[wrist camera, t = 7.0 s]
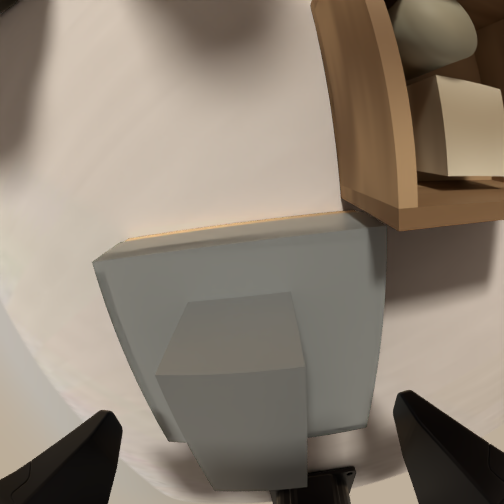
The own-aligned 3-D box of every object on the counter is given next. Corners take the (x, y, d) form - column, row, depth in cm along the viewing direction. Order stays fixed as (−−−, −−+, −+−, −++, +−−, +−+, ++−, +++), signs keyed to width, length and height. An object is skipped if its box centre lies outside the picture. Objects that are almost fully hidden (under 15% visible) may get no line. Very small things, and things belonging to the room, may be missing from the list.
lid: (355, 394, 13) (384, 486, 8) (177, 409, 14) (152, 498, 8) (362, 210, 10) (451, 267, 5) (120, 242, 11) (28, 311, 5)
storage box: (491, 188, 10) (568, 212, 5) (341, 198, 11) (398, 231, 6) (467, 30, 8) (532, 3, 3) (310, 5, 8) (337, -69, 3)
